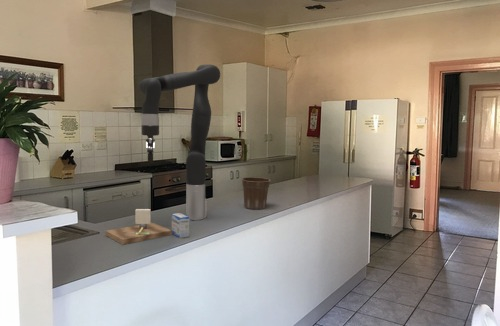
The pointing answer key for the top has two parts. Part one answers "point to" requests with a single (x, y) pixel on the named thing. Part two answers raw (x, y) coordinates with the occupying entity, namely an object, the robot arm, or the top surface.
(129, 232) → the brown flat wooden board
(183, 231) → the medicine box
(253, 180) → the plant pot
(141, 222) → the toy mallet
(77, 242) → the top surface
